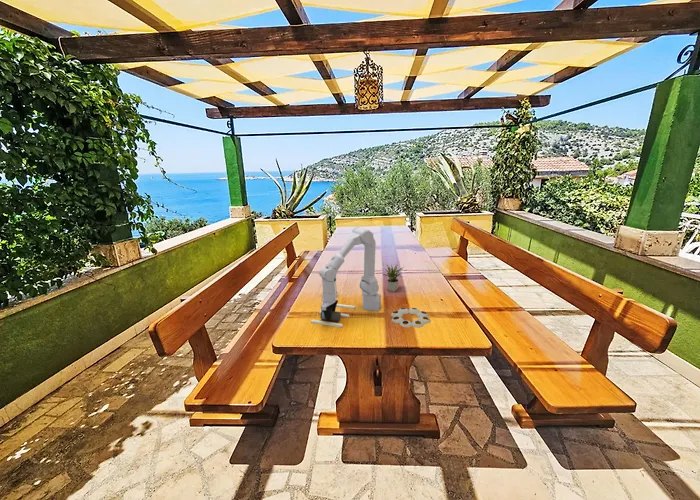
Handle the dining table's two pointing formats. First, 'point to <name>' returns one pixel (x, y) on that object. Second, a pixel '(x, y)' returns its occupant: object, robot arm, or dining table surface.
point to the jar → (335, 286)
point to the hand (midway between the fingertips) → (330, 317)
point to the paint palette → (412, 311)
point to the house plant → (393, 281)
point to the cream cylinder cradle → (331, 322)
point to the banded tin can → (332, 316)
